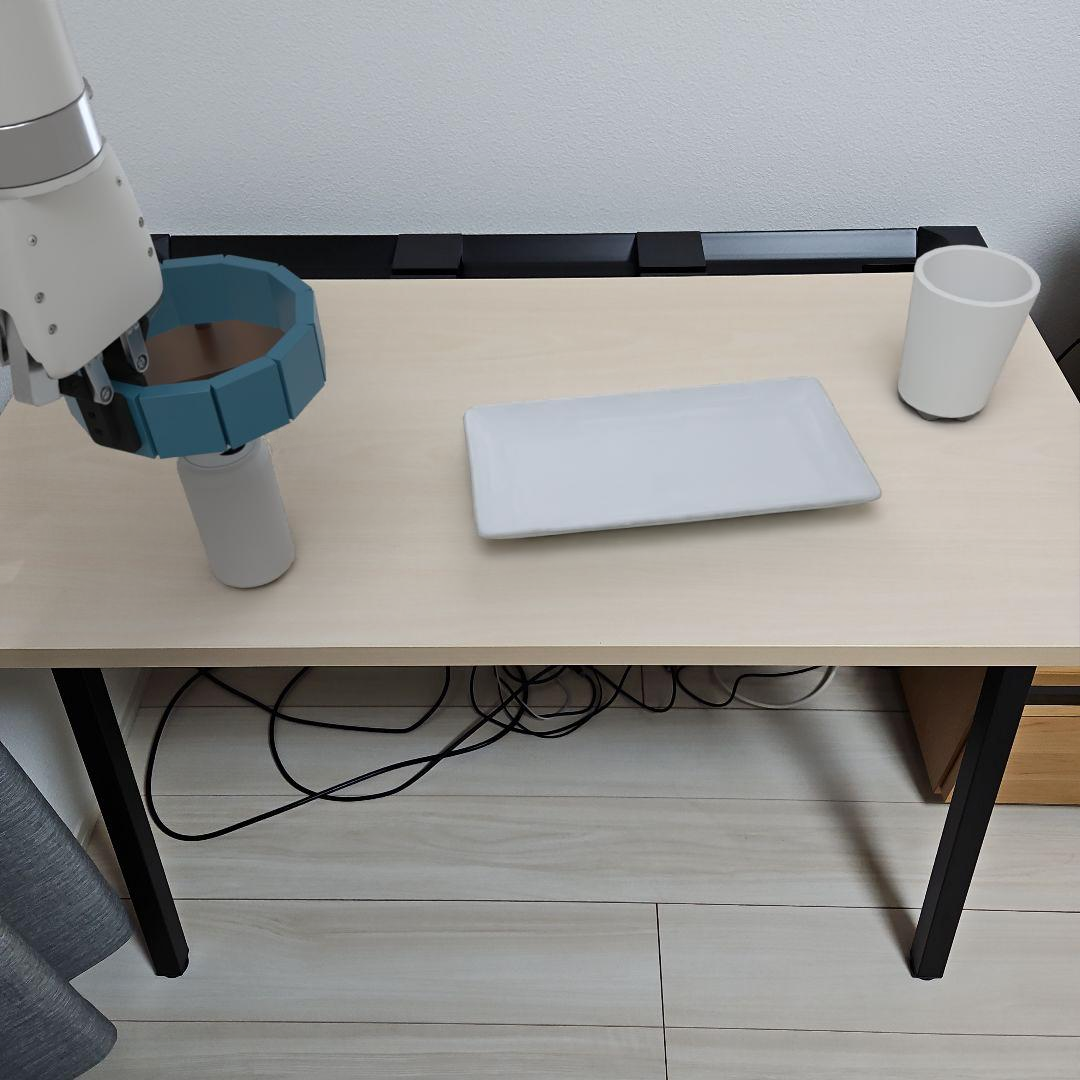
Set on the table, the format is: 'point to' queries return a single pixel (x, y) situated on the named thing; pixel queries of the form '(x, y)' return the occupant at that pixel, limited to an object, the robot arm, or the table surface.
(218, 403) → the ring
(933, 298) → the cup
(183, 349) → the platform
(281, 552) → the beverage can
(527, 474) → the tray
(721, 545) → the table surface
